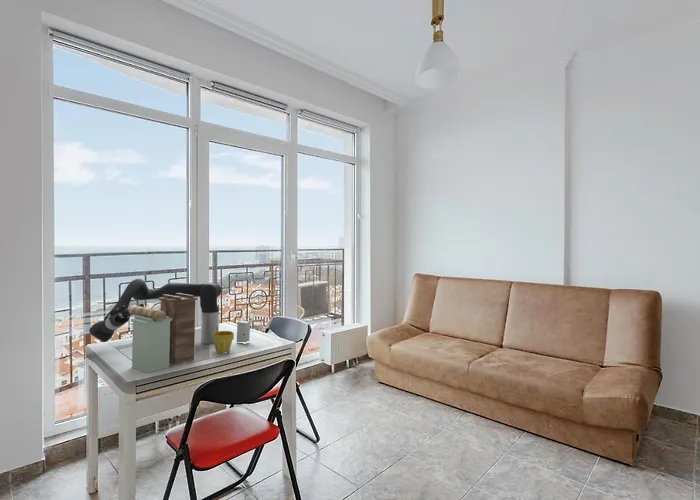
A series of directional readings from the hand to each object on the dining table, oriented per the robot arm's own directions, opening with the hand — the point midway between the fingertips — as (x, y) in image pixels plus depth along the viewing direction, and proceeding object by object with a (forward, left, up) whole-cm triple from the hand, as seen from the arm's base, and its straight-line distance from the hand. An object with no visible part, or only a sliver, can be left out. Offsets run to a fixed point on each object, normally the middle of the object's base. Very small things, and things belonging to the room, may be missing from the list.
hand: (134, 306), depth 178 cm
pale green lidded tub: (-9, +11, -26) cm, 29 cm away
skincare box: (-51, -22, -26) cm, 61 cm away
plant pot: (-40, -7, -26) cm, 48 cm away
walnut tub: (-19, +2, -26) cm, 32 cm away
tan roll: (-7, +8, -4) cm, 12 cm away
